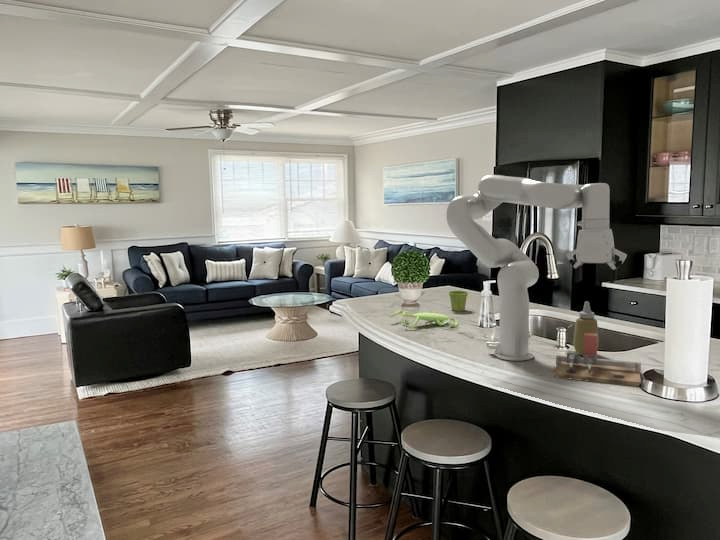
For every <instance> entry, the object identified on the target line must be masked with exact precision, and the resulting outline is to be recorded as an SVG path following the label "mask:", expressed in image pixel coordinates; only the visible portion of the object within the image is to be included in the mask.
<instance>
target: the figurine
mask: <svg viewBox="0 0 720 540" xmlns="http://www.w3.org/2000/svg"><path fill="white" fill-rule="evenodd" d="M397 315H402V317H406V318H405V319H404V320H403V324H404V326H405V330H406V331H408V329H407V323H408V326H409V328H410V329H414V328H415V327H416V326H417V325H418V323H419V321H421V320H422V321H425V323H424V324H425V325H427V324H429V323H430V322H434V324H435V325H439V326H444V325H446V324H447V323H448V325H449V326H450V327H452V328H455V326H456V327H458V326H459V325H458V324H459V322H458V320H457V319H456V318H454V317H449V316H447V315H446V314H445V315H444V314H441V313H438V312H434V313H433V312H419V313H412V314H411V313H409V312H408V311H404V310H400V311H399V310H398V311H396V312H393V313H392V314H390V315H389V317H390V318H393V317H395V316H397ZM407 317H408V318H415V321H414V322H413V325H411V324H410V321H409V319H408V318H407ZM450 321H452V322H453V323H454V324H452V323H451V322H450Z"/></svg>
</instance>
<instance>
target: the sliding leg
mask: <svg viewBox="0 0 720 540" xmlns="http://www.w3.org/2000/svg"><path fill="white" fill-rule="evenodd" d="M597 338H599V333H598V334H596V333H585V335H584V356H583V358H584V364H585V365H588V373H591V365H597V359H598V349H597Z"/></svg>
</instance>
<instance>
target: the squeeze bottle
mask: <svg viewBox="0 0 720 540" xmlns="http://www.w3.org/2000/svg"><path fill="white" fill-rule="evenodd" d="M590 305H591V304H590V301H584V305H583V309H582V311H579V313H578V315H579V316H578V318H577V319H576V320H575V325H574V333H573V339H572V340H573V341H572V344H573V347H574V348H573V349H574V350H575V351H577V352H579V356H581V355H582V357H584V335H585V333H596V334H598V335H599V326H598V320H597V319H596V318H595V312H593V311H592V310H591V306H590ZM599 346H600V339H599V337H598V338H597V350H598V349H599Z"/></svg>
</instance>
